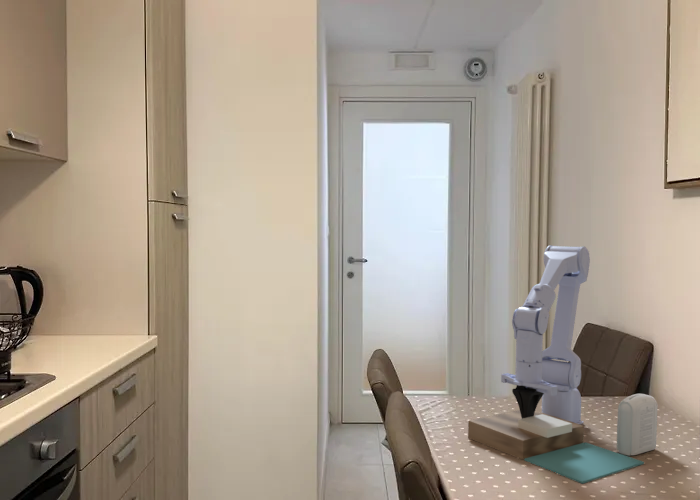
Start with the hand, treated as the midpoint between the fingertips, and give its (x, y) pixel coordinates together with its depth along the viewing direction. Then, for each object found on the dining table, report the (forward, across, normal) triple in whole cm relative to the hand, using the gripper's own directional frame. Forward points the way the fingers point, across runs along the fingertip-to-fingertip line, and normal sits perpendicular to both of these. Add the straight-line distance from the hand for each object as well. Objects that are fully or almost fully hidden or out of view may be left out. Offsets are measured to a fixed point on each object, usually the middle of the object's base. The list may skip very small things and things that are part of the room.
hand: (527, 420), depth 143 cm
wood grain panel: (+5, 0, 0) cm, 5 cm away
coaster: (+1, +5, 0) cm, 5 cm away
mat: (+5, +15, 0) cm, 16 cm away
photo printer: (+5, +16, +16) cm, 24 cm away
